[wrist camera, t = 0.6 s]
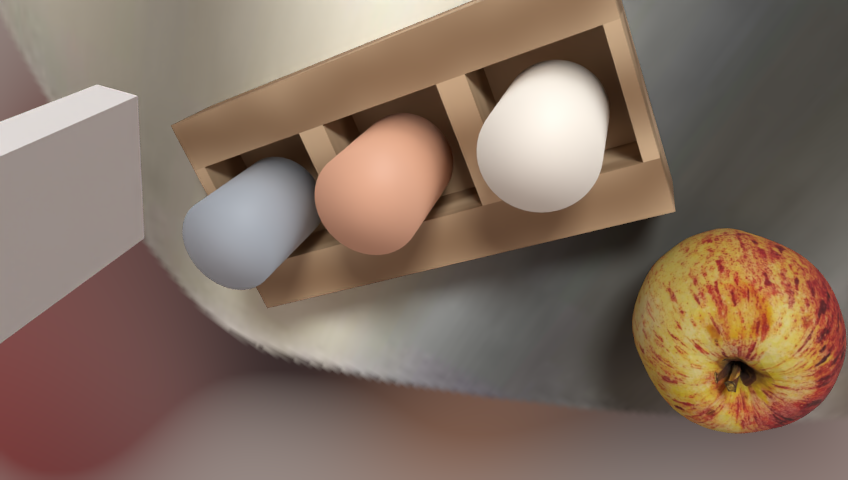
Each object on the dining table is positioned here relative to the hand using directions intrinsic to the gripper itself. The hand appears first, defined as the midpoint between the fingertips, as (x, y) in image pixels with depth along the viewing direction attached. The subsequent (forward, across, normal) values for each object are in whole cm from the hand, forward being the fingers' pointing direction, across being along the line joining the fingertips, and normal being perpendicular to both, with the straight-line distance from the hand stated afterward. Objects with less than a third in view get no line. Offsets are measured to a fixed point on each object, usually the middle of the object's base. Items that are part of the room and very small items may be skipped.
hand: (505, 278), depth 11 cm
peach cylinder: (+23, -7, -9) cm, 25 cm away
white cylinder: (+23, 0, -5) cm, 23 cm away
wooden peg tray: (+26, -7, -9) cm, 28 cm away
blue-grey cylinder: (+23, -14, -13) cm, 30 cm away
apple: (+26, +10, -12) cm, 30 cm away
